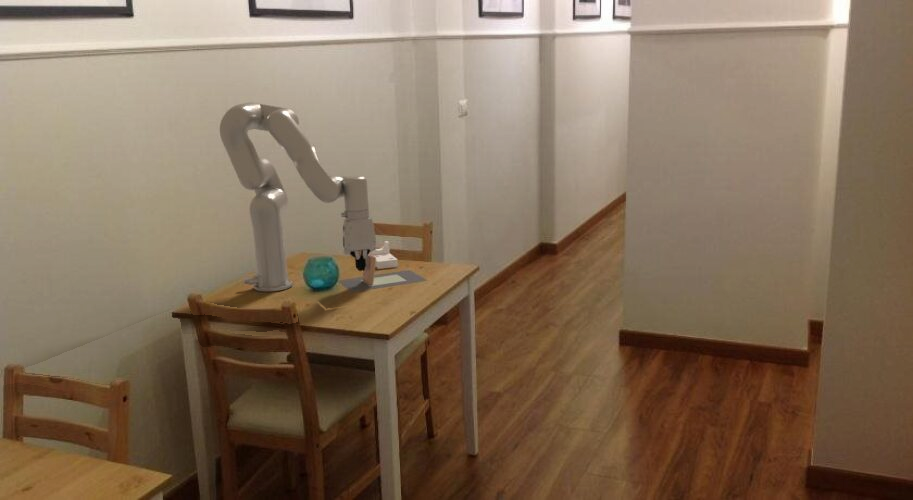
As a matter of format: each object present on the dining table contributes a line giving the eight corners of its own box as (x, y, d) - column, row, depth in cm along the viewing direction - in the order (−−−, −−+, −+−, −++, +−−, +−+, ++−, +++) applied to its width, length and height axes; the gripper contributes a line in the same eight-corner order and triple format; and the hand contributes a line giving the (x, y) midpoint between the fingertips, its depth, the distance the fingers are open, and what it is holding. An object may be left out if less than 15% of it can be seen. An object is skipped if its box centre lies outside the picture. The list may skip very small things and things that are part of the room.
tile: (368, 284, 269) (371, 257, 267) (362, 280, 274) (365, 253, 273) (373, 284, 270) (376, 257, 268) (367, 280, 275) (370, 253, 274)
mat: (352, 294, 262) (352, 292, 262) (337, 282, 276) (337, 280, 276) (427, 282, 272) (427, 280, 272) (409, 271, 286) (409, 269, 286)
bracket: (369, 263, 301) (368, 243, 299) (388, 261, 303) (387, 241, 302) (378, 271, 289) (377, 250, 287) (398, 269, 291) (396, 248, 290)
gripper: (338, 219, 259) (342, 275, 264) (383, 213, 265) (386, 269, 270) (331, 215, 266) (335, 270, 270) (375, 210, 272) (378, 264, 276)
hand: (361, 269), depth 270 cm, fingers closed
